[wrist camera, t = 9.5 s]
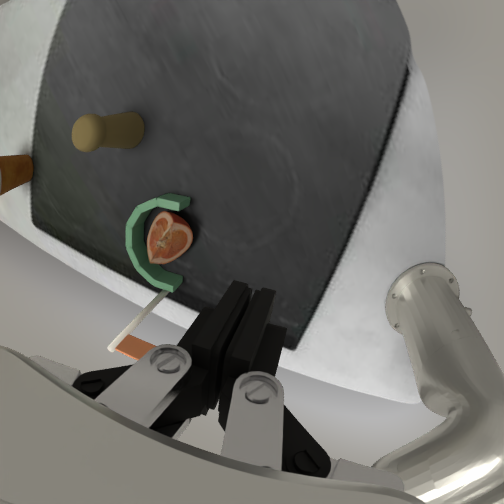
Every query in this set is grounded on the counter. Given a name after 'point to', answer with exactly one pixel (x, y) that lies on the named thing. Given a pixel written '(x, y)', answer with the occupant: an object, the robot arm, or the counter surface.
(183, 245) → the fruit slice
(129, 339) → the green segmented arc
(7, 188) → the disposable coffee cup
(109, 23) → the counter surface
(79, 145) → the cork
